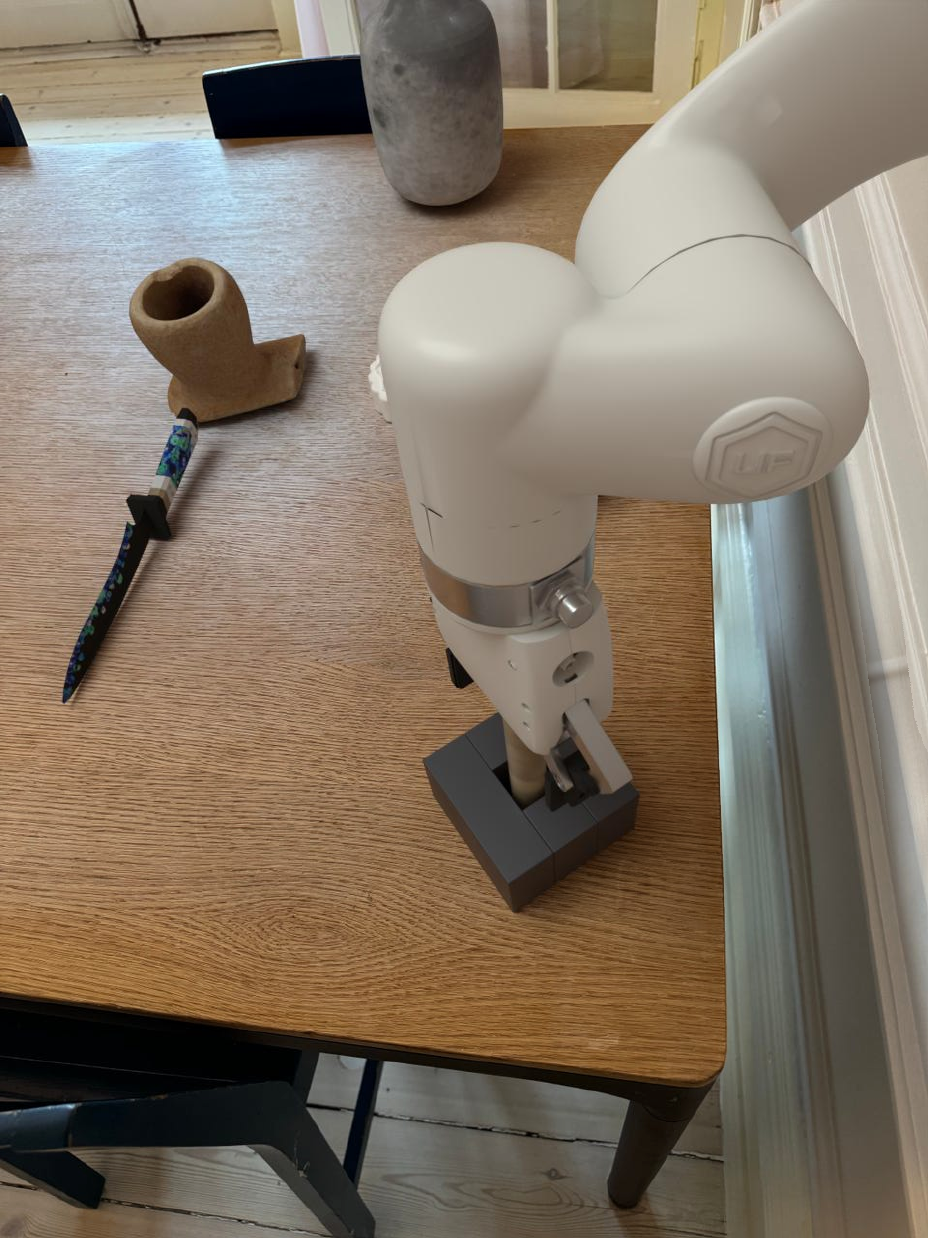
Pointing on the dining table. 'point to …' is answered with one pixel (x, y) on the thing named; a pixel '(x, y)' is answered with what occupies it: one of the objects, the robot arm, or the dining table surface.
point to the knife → (135, 545)
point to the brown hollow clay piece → (212, 342)
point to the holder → (520, 816)
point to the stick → (524, 770)
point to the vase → (434, 96)
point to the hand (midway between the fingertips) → (521, 731)
